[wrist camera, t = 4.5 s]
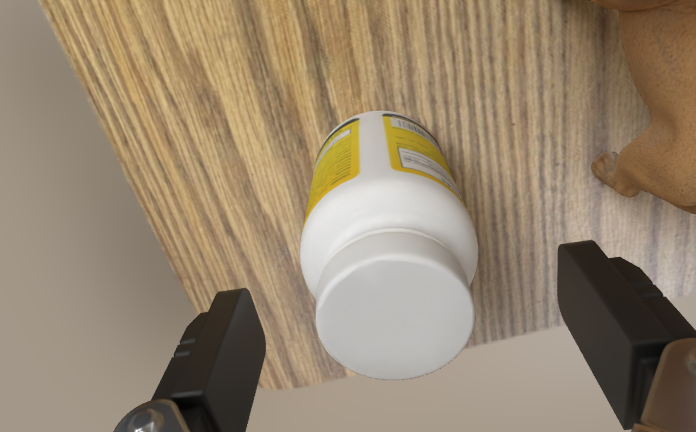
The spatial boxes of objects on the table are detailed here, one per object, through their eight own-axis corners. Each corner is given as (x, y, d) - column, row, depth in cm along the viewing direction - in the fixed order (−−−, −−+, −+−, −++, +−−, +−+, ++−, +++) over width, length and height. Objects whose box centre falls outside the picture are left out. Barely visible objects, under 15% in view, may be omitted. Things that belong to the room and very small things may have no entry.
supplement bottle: (324, 231, 22) (302, 406, 13) (306, 115, 20) (264, 237, 11) (445, 220, 22) (502, 394, 13) (442, 100, 19) (510, 215, 10)
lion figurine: (444, -114, 16) (528, -191, 8) (601, -238, 14) (903, -487, 6) (609, 215, 21) (759, 366, 13) (736, 150, 20) (989, 278, 12)
